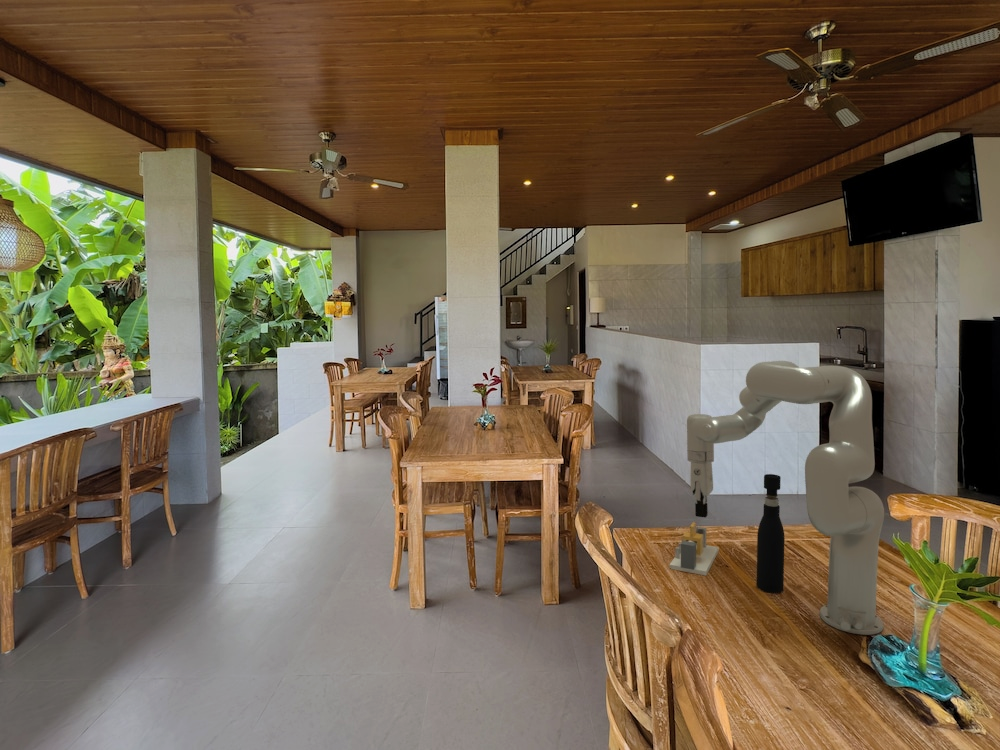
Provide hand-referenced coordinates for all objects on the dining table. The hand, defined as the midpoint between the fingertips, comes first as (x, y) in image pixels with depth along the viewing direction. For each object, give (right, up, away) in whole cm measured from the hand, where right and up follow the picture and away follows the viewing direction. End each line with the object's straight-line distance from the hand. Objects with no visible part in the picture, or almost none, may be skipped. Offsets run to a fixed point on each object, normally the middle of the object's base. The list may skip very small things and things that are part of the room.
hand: (701, 516), depth 174 cm
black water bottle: (+10, -14, -22) cm, 28 cm away
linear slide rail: (-3, -12, -3) cm, 13 cm away
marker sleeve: (-5, -9, -6) cm, 12 cm away
